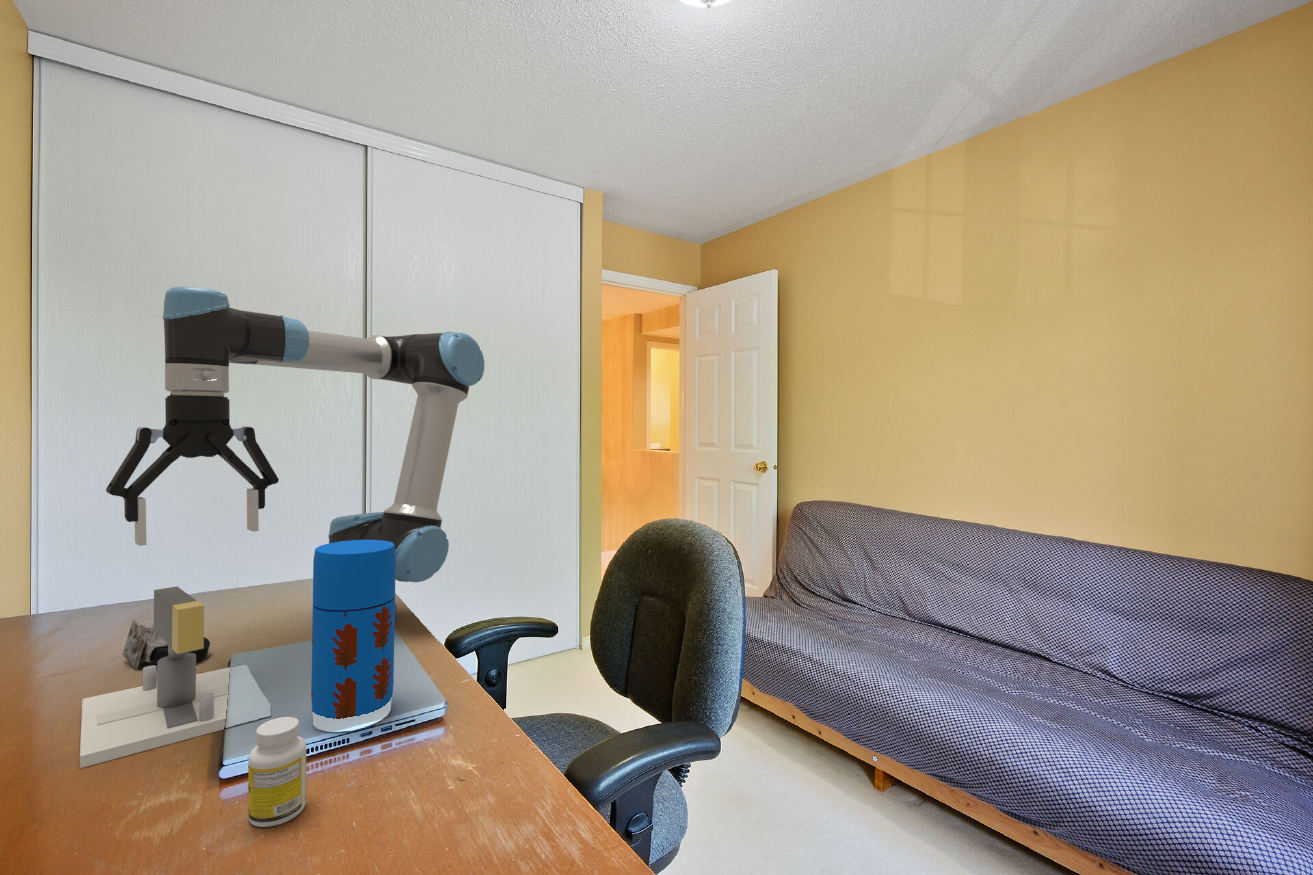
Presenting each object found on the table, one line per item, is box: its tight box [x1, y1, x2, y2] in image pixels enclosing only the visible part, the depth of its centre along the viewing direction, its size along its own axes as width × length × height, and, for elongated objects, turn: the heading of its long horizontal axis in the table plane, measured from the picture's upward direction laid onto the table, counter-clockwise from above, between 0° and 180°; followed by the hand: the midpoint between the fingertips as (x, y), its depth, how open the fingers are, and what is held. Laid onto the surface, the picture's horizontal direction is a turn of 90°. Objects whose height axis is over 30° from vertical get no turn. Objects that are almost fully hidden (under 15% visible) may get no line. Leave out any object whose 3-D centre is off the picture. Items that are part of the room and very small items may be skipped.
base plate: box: [79, 653, 230, 769], centre depth 86 cm, size 20×20×8 cm
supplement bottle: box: [247, 716, 307, 828], centre depth 65 cm, size 5×5×10 cm
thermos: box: [310, 540, 396, 719], centre depth 87 cm, size 11×11×25 cm
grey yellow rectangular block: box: [153, 586, 205, 659], centre depth 86 cm, size 14×3×9 cm, turn 51°
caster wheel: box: [122, 618, 211, 671], centre depth 105 cm, size 7×11×10 cm
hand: (200, 536), depth 88 cm, fingers open, 13 cm apart
